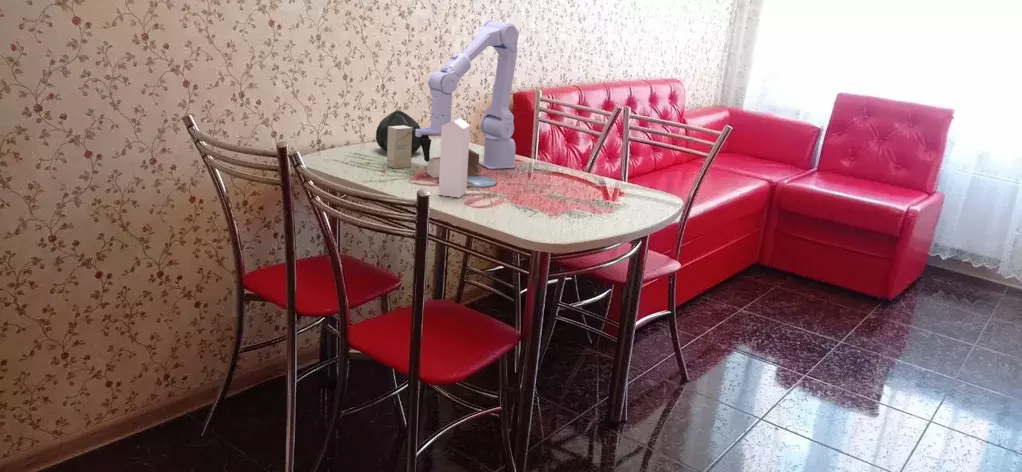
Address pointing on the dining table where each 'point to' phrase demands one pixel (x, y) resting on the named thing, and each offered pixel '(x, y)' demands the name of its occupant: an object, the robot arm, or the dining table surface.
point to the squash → (397, 120)
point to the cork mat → (467, 184)
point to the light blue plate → (481, 181)
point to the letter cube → (434, 167)
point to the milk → (454, 157)
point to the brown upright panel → (473, 164)
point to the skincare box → (399, 146)
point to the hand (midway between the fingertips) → (438, 160)
